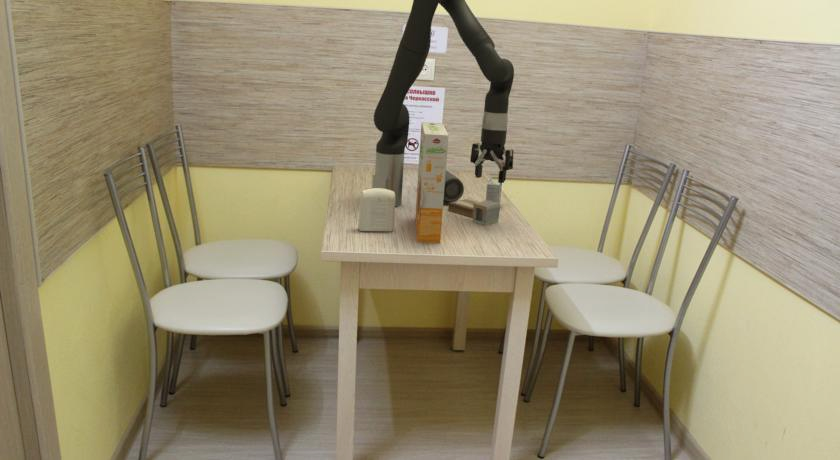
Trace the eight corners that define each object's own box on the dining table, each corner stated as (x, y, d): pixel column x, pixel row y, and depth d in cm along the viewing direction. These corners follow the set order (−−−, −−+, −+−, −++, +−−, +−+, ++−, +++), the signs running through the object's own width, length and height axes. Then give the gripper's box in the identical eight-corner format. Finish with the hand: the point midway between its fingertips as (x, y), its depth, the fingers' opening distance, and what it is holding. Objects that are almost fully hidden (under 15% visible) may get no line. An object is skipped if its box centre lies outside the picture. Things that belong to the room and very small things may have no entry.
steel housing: (485, 225, 206) (486, 207, 205) (472, 222, 210) (473, 203, 208) (498, 222, 212) (500, 203, 210) (485, 218, 215) (487, 200, 213)
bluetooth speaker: (464, 205, 229) (466, 176, 226) (438, 205, 226) (441, 176, 223) (439, 188, 249) (441, 162, 246) (416, 189, 246) (417, 162, 243)
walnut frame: (474, 218, 214) (475, 209, 213) (448, 210, 221) (448, 202, 220) (495, 212, 222) (495, 204, 221) (468, 205, 229) (469, 197, 228)
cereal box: (415, 219, 208) (421, 121, 200) (435, 220, 209) (442, 123, 200) (417, 241, 187) (424, 134, 178) (440, 243, 187) (448, 135, 178)
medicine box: (497, 210, 225) (500, 184, 223) (484, 208, 226) (487, 183, 224) (500, 204, 233) (502, 180, 230) (487, 203, 234) (489, 178, 231)
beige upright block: (392, 227, 198) (394, 186, 194) (395, 232, 194) (397, 190, 190) (357, 228, 195) (359, 186, 192) (359, 232, 191) (361, 190, 188)
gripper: (468, 124, 204) (463, 177, 208) (506, 131, 195) (501, 186, 199) (482, 123, 209) (478, 174, 214) (521, 129, 200) (515, 183, 205)
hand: (489, 180), depth 207 cm, fingers open, 8 cm apart
